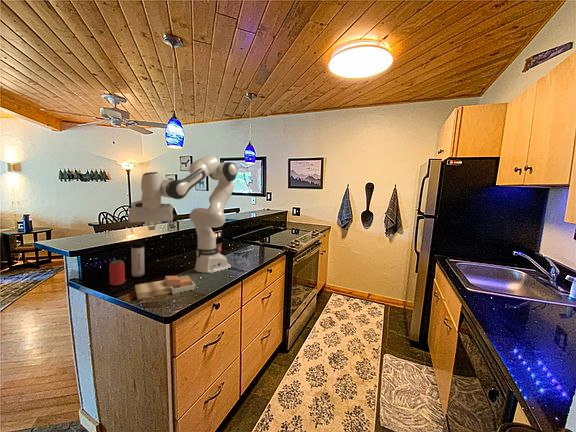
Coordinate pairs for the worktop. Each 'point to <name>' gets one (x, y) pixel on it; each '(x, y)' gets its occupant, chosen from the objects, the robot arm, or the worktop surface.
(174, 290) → the tray
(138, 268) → the travel mug
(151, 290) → the bench
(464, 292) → the worktop surface
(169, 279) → the tile
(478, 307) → the worktop surface
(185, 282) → the tile
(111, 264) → the beer can
